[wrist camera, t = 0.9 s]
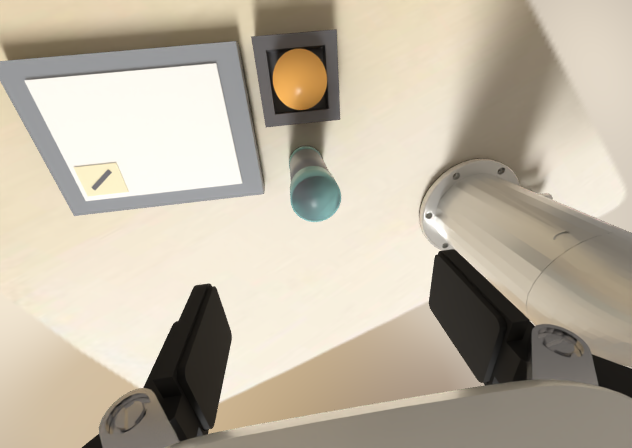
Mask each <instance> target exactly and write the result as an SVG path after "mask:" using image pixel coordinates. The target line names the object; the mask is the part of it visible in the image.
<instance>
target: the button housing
mask: <svg viewBox="0 0 632 448" xmlns="http://www.w3.org/2000/svg"><path fill="white" fill-rule="evenodd" d="M251 38H252V44H253V50H254V57H255V63H256V69H257V75H258V81H259V88H260V94H261V100H262V106H263V112H264V119H265V125H266V127H273V126H282V125H292V124H302V123H312V122H321V121H331V120H340V104H339V79H338V55H337V31H336V30H324V31H312V32H301V33H289V34H277V35H265V36H253V37H251ZM293 49H306V50H309V51H311V52H312V53H314V54H315V55H316V56H318V58H319V59H320V60H321V61H322V63H323V65H324V67H325V70H326V74H327V86H326V90H325V93H324V95H323V97H322V99H321V100H320V101H319V102H318V103H317V104H316V105H315V106H313V107H311V108H309V109H306V110H296V109H292V108H290V107H288V106H286V105H285V104H284V103H283V102H282V101H281V100H280V99H279V97H278V96H277V94H276V92H275V89H274V85H273V71H274V68H275V65H276V63H277V61H278V60H279V58H280V57H281V56H282V55H283V54H285V53H286V52H288V51H290V50H293Z"/></svg>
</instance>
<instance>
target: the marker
mask: <svg viewBox="0 0 632 448" xmlns="http://www.w3.org/2000/svg"><path fill="white" fill-rule="evenodd" d="M289 167H290V176H291V184H290V197H291V205H292V208H293V210H294V212H295V213H296V214H297V215H298V216H299V217H300V218H302V219H304V220H307V221H311V222H319V221H323V220H326V219H328V218H330V217H331V216H332V215H333V214H334V213H335V212H336V211H337V209H338V208H339V205H340V202H341V192H340V189H339V187H338V185H337V183H336V181H335V179H334V178H333V176H332V175H331V173H330V172H329V171H328V169H327V167H326V165H325V163H324V161H323V159H322V156H321V155H320V153H319V152H318V151H317V150H316V149H315V148H313V147H310V146H302V147H299V148H297V149H296V150H295V151H294V152H293V153H292V154H291V156H290V160H289Z"/></svg>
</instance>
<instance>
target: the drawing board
mask: <svg viewBox="0 0 632 448" xmlns="http://www.w3.org/2000/svg"><path fill="white" fill-rule="evenodd" d="M0 81H1V83H2V85H3V87H4V89H5V90H6V92H7V94H8V96H9V98H10V100H11V101H12V103H13V105H14V107H15V109H16V111H17V112H18V114H19V116H20V118H21V120H22V122H23V123H24V125H25V127H26V129H27V131H28V132H29V134H30V136H31V138H32V140H33V142H34V143H35V145H36V147H37V149H38V151H39V153H40V154H41V156H42V158H43V160H44V162H45V164H46V165H47V167H48V169H49V171H50V173H51V174H52V176H53V178H54V180H55V182H56V184H57V185H58V187H59V189H60V191H61V193H62V195H63V196H64V198H65V200H66V202H67V204H68V206H69V207H70V209H71V211H72V213H73V215H74V216H77V215H86V214H95V213H103V212H112V211H121V210H129V209H138V208H147V207H155V206H164V205H173V204H181V203H190V202H199V201H207V200H216V199H225V198H233V197H242V196H251V195H259V194H264V191H265V188H264V182H263V177H262V171H261V166H260V160H259V155H258V149H257V144H256V138H255V133H254V127H253V122H252V116H251V111H250V105H249V100H248V94H247V88H246V83H245V77H244V72H243V66H242V61H241V55H240V50H239V44H238V43H237V42H236V41H231V42H220V43H208V44H196V45H185V46H173V47H161V48H149V49H138V50H126V51H114V52H103V53H91V54H79V55H67V56H56V57H44V58H32V59H21V60H9V61H0Z"/></svg>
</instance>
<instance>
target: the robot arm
mask: <svg viewBox="0 0 632 448" xmlns="http://www.w3.org/2000/svg"><path fill="white" fill-rule="evenodd" d="M419 217H420V226H421V229H422V232H423V234H424V235H425V237H426V238H427V239H428V241H429V242H430V243H431V244H433V245H434V246H435V247H436V248H438V249H440V250H442V251H439V253H438V255H436V256H435V259H434V267H433V274H432V282H431V289H430V297H429V306H430V309H431V311H432V312H433V314H434V315H435V317H436V318H437V320H438V321H439V323H440V324H441V326H442V327H443V329H444V330H445V332H446V333H447V335H448V336H449V338H450V339H451V341H452V342H453V344H454V345H455V347H456V348H457V350H458V351H459V353H460V354H461V356H462V357H463V359H464V360H465V362H466V363H467V365H468V366H469V368H470V369H471V371H472V372H473V374H474V375H475V377H476V378H477V380H478V381H479V382H481V383H484V384H485V386H480V387H473V388H467V389H461V390H455V391H449V392H442V393H437V394H431V395H424V396H418V397H413V398H406V399H400V400H395V401H389V402H383V403H377V404H371V405H365V406H359V407H354V408H347V409H342V410H336V411H330V412H324V413H319V414H313V415H308V416H302V417H296V418H291V419H285V420H279V421H273V422H268V423H262V424H257V425H251V426H246V427H241V428H236V429H231V430H226V431H221V432H216V433H211V434H208V430H209V429H212V428H213V426H214V423H215V419H216V413H217V409H218V404H219V399H220V394H221V389H222V384H223V379H224V375H225V370H226V365H227V360H228V355H229V350H230V345H231V340H232V335H231V330H230V327H229V324H228V321H227V318H226V315H225V312H224V309H223V306H222V303H221V301H220V298H219V295H218V292H217V289H216V287H215V286H214V287H212V286H211V284H203V285H196V286H194V288H193V290H192V292H191V294H190V297H189V299H188V301H187V303H186V305H185V308H184V310H183V312H182V314H181V317H180V319H179V321H176V322H175V323H174V324H173V326H172V328H171V330H170V332H169V334H168V336H167V338H166V340H165V343H164V345H163V347H162V349H161V351H160V353H159V355H158V358H157V360H156V362H155V364H154V366H153V368H152V371H151V373H150V375H149V377H148V379H147V381H146V383H145V386H144V388H139V389H136V390H133V391H130V392H128V393H127V394H125V395H123V396H122V397H121V398H119V399H118V400H117V401H116V402H114V403H113V404H112V406H111V407H110V408H109V409H108V410H107V412H106V413H105V415H104V416H103V418H102V420H101V423H100V426H99V434H98V435H97V436H96V437H94V438H93V439H92V440H91V441H89V442H88V443H87V444H86V445H84V446H83V447H82V448H632V369H631V368H628V367H625V366H629V367H632V233H631V232H628V231H626V230H623V229H621V228H618V227H616V226H614V225H611V224H609V223H607V222H604V221H602V220H599V219H597V218H595V217H592V216H590V215H588V214H585V213H583V212H580V211H578V210H576V209H573V208H571V207H568V206H566V205H564V204H561V203H559V202H556V201H554V200H552V196H551V195H550V194H549V193H544V194H537V193H535V192H533V191H530V190H528V189H525V188H523V187H521V186H520V184H519V181H518V178H517V176H516V175H515V173H514V172H513V170H511V169H510V168H509V167H508V166H506V165H504V164H502V163H500V162H497V161H494V160H491V159H473V160H469V161H466V162H462V163H460V164H458V165H456V166H454V167H452V168H450V169H449V170H448V171H446V172H445V173H443V174H442V175H441V176H440V177H439V178H438V179H437V180H436V181H435V182H434V183H433V185H432V186H431V187H430V188H429V190H428V192H427V193H426V195H425V197H424V199H423V202H422V205H421V209H420V215H419ZM459 253H460V254H461V255H462V256H461V255H460V254H459ZM476 269H477V270H478V271H479V272H478V271H477V270H476ZM495 287H496V288H495ZM530 321H532V322H533V323H534V324H535V325H536V326H534V325H533V324H532V323H531V322H530ZM623 365H624V366H623Z"/></svg>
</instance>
